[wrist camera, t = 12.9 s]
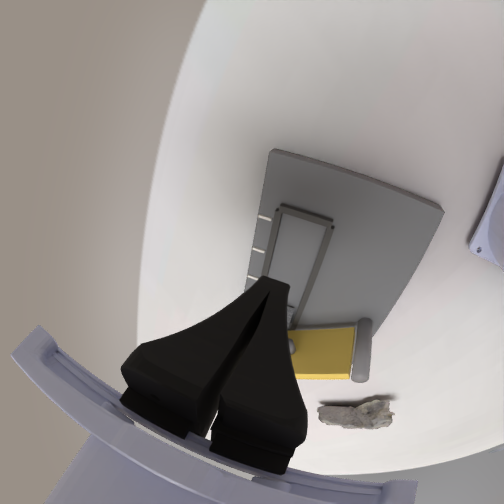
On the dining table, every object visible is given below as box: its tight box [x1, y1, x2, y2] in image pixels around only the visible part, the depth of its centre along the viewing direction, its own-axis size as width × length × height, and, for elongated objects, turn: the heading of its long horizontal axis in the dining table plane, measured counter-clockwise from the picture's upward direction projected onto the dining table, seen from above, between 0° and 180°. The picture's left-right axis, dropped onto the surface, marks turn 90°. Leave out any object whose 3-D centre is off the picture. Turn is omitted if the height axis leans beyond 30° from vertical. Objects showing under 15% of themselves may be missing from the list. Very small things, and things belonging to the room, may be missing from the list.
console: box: [244, 149, 445, 383], centre depth 21 cm, size 13×20×7 cm, turn 171°
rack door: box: [288, 327, 355, 379], centre depth 22 cm, size 2×7×5 cm, turn 112°
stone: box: [317, 400, 395, 429], centre depth 31 cm, size 6×12×4 cm, turn 123°
